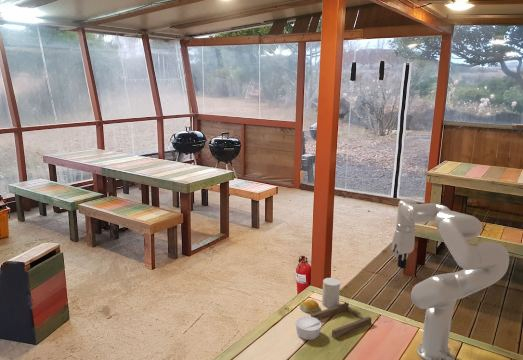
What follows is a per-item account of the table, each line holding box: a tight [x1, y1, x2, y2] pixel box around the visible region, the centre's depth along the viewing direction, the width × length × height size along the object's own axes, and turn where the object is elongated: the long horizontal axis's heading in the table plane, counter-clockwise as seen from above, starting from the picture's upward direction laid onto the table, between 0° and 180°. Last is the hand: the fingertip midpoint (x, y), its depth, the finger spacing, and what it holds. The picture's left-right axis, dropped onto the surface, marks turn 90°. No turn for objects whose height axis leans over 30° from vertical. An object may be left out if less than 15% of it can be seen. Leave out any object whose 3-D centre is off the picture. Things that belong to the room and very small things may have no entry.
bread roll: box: [299, 299, 320, 314], centre depth 204 cm, size 8×9×4 cm
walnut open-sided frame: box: [310, 302, 372, 339], centre depth 192 cm, size 16×22×3 cm
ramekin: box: [295, 315, 322, 341], centre depth 183 cm, size 11×11×5 cm
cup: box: [321, 277, 341, 309], centre depth 207 cm, size 8×8×12 cm
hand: (401, 267), depth 188 cm, fingers closed
